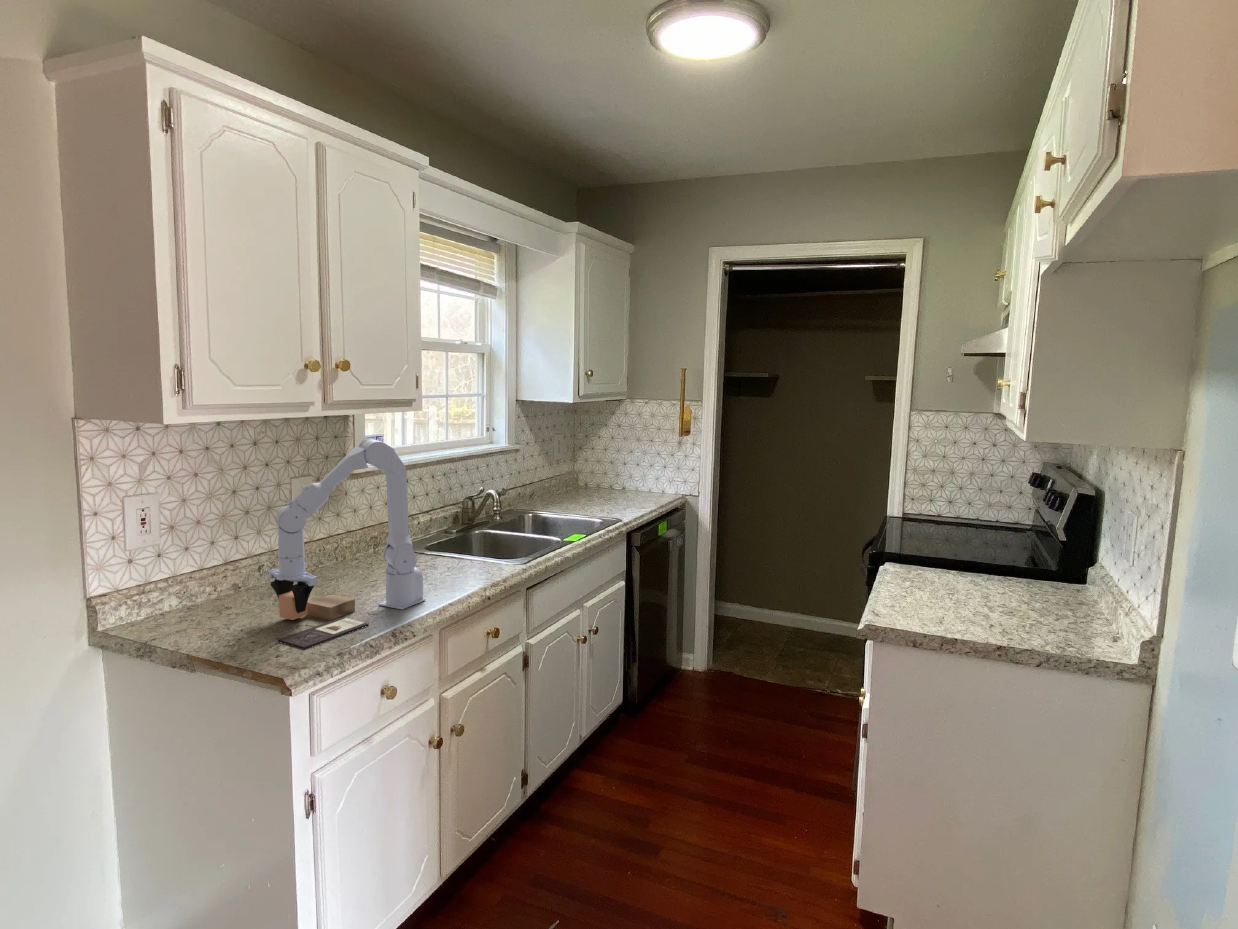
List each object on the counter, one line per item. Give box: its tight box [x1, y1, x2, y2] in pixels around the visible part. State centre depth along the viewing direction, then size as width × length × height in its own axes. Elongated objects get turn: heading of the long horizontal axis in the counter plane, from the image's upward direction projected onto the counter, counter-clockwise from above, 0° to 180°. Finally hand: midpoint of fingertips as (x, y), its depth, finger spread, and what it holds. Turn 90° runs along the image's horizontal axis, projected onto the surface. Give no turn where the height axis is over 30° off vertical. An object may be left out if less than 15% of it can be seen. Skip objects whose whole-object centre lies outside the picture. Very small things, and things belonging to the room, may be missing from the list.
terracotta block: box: [278, 591, 309, 621], centre depth 179 cm, size 4×4×6 cm
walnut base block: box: [307, 594, 356, 621], centre depth 184 cm, size 8×8×4 cm
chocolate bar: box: [277, 616, 369, 650], centre depth 170 cm, size 9×1×18 cm
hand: (293, 610), depth 179 cm, fingers closed on terracotta block, 4 cm apart
